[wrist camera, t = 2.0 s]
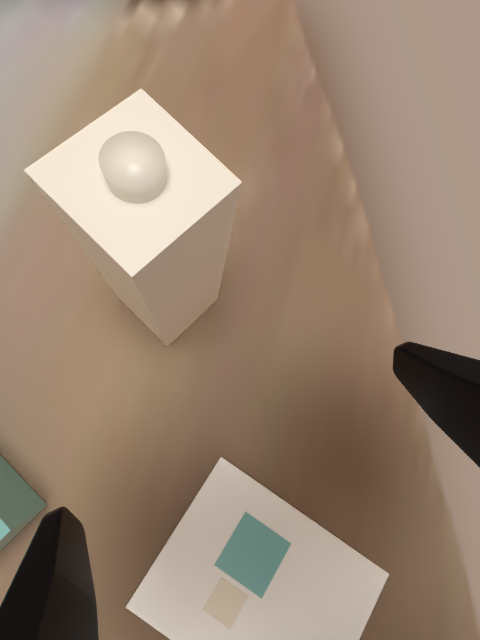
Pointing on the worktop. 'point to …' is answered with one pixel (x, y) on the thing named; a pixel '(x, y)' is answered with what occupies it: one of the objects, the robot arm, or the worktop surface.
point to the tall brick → (145, 210)
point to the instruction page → (255, 571)
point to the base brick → (15, 503)
